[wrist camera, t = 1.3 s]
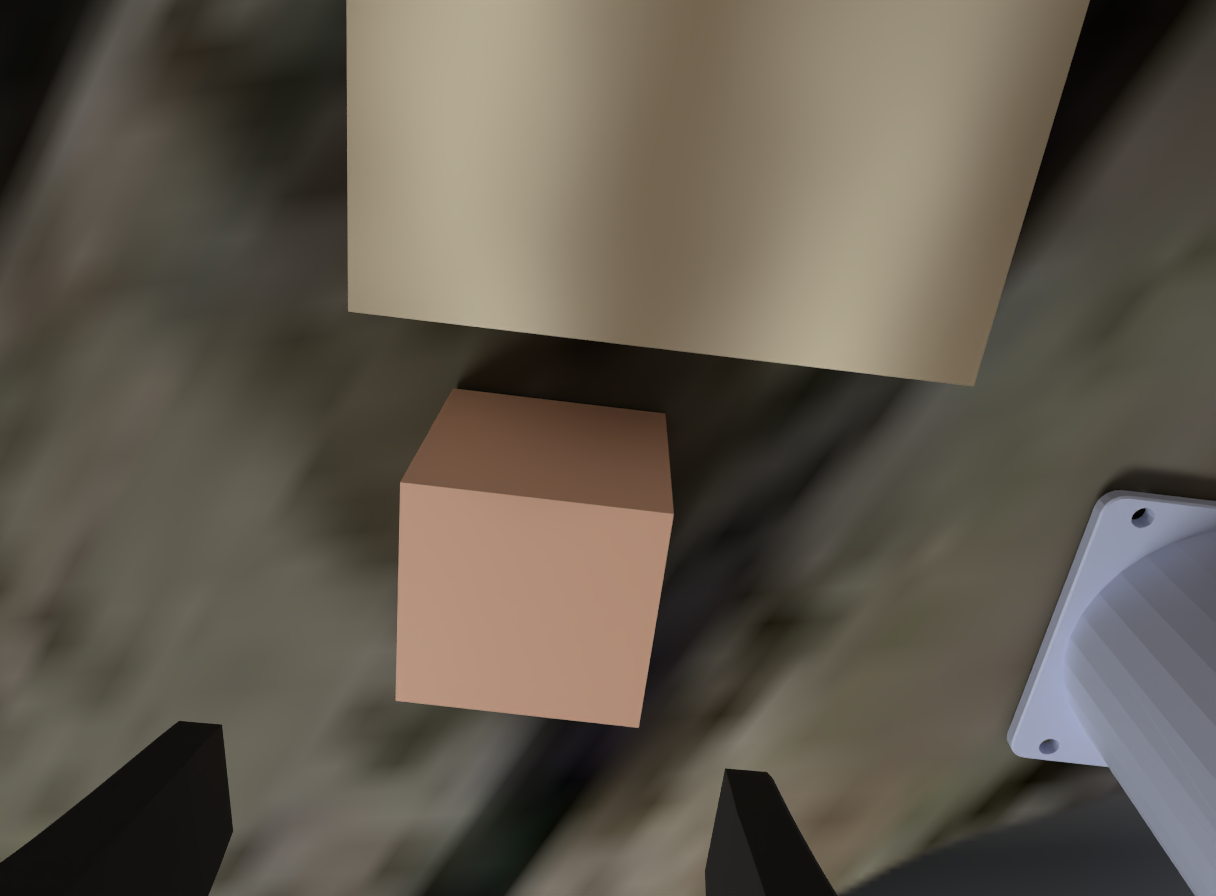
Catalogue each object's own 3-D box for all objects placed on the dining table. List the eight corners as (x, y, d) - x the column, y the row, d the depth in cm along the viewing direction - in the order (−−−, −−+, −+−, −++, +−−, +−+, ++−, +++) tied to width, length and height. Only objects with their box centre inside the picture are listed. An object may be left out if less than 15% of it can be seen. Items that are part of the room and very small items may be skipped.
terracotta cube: (665, 413, 21) (673, 514, 16) (637, 592, 23) (638, 727, 18) (452, 388, 20) (400, 482, 16) (444, 570, 22) (396, 700, 18)
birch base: (1112, -344, 15) (1221, -437, 12) (925, 341, 20) (973, 386, 17) (399, -441, 14) (343, -559, 12) (389, 276, 19) (348, 311, 17)
